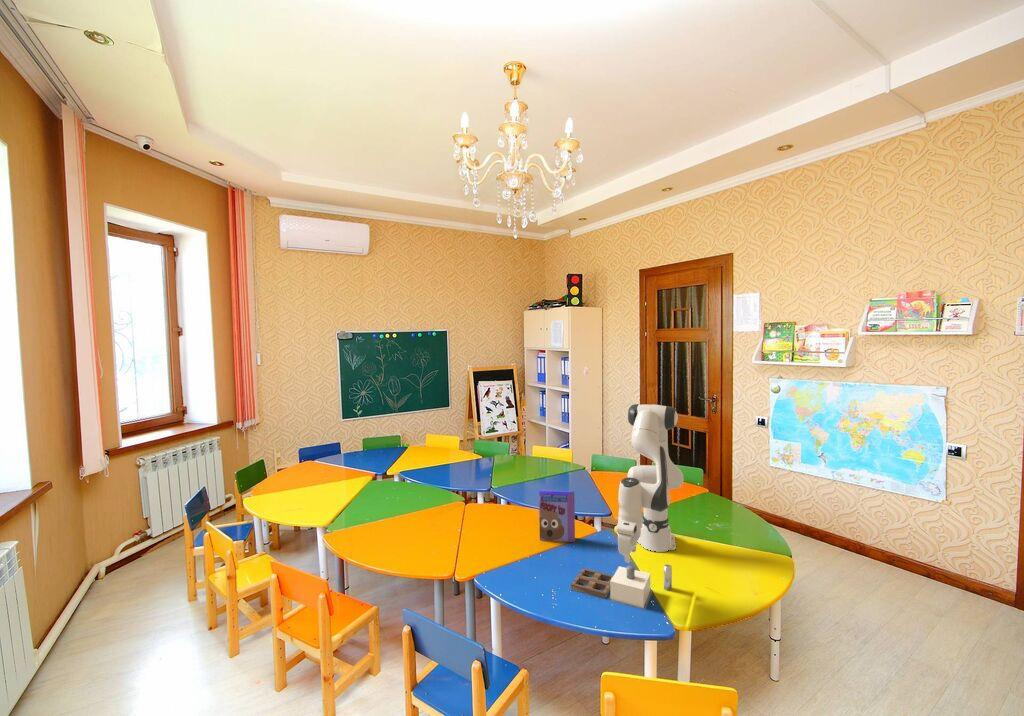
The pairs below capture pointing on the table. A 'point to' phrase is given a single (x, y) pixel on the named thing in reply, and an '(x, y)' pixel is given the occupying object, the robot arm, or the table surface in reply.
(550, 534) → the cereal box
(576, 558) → the table surface
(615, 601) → the board
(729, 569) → the table surface
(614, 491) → the table surface
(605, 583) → the socket board
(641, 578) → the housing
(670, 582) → the steel pin
